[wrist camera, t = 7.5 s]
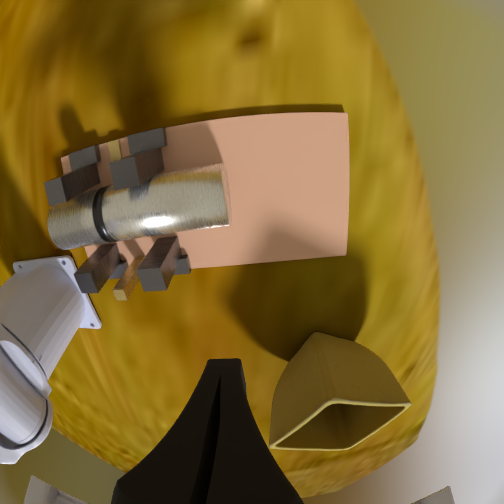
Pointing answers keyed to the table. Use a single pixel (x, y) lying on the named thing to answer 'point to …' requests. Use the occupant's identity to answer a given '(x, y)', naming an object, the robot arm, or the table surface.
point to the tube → (144, 209)
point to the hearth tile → (259, 187)
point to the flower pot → (333, 396)
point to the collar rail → (123, 176)
